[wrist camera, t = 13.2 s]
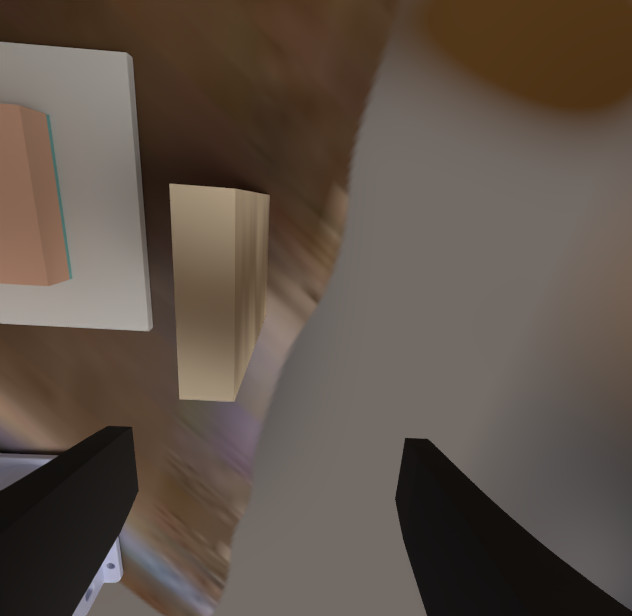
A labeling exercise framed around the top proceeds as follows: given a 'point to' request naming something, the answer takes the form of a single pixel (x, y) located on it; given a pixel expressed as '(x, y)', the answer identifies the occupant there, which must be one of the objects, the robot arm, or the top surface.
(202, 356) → the beige upright block
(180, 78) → the top surface
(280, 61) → the top surface
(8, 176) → the tile
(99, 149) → the mat
